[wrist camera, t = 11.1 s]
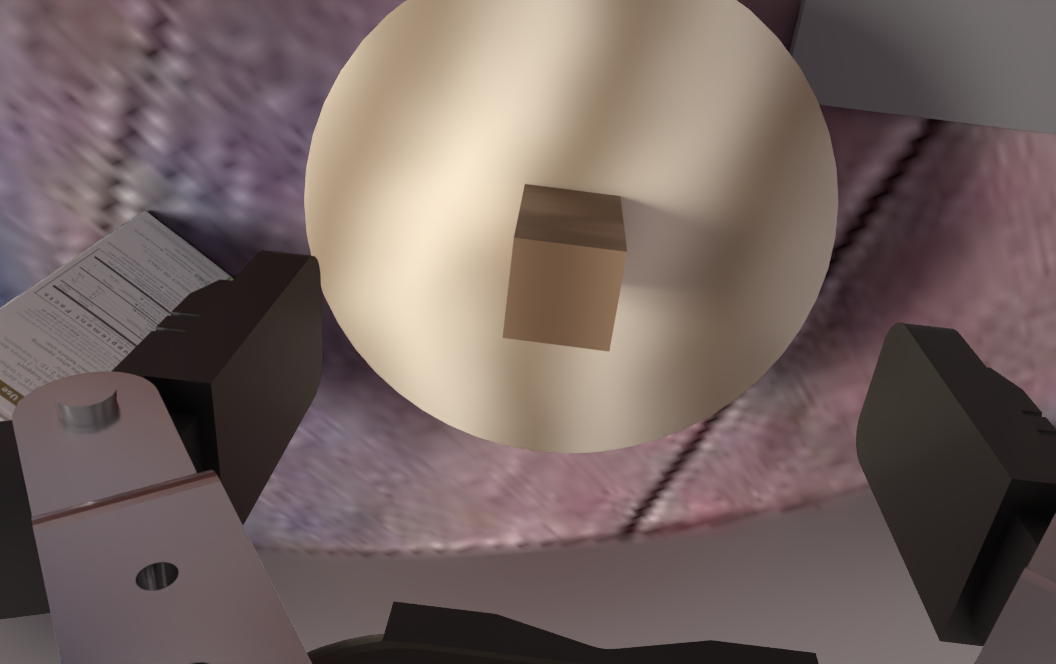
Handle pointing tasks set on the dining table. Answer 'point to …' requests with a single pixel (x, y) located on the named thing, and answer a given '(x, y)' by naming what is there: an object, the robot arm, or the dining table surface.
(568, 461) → the dining table surface
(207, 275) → the syrup box
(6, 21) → the dining table surface
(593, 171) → the lid
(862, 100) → the mat
